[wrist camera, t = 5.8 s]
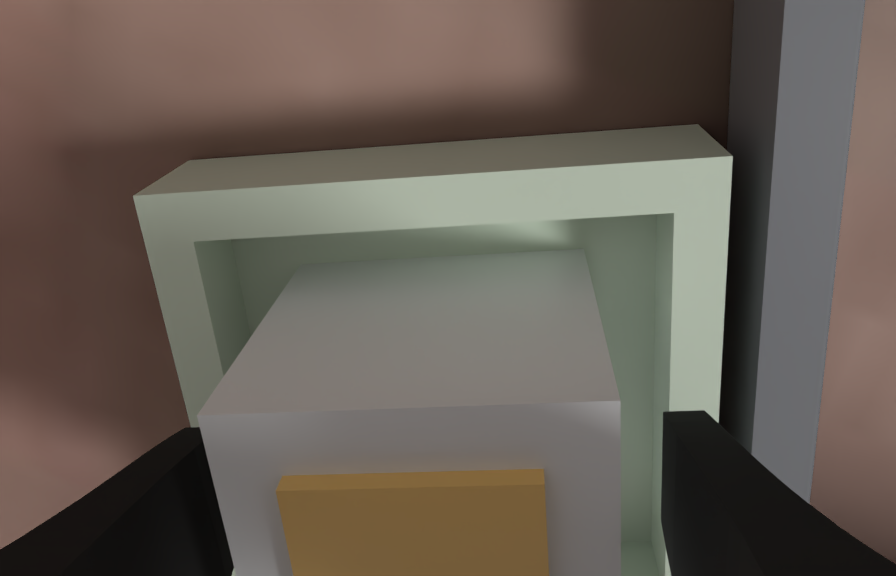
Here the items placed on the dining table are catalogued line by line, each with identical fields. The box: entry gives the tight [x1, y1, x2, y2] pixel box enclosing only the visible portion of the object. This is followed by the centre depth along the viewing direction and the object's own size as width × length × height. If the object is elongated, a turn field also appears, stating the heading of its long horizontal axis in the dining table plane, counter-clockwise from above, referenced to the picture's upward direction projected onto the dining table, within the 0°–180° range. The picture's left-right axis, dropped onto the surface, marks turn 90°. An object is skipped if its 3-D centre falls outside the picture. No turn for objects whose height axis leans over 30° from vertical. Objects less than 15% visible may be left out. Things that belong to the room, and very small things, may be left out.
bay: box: [133, 124, 733, 576], centre depth 14 cm, size 9×9×2 cm
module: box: [197, 249, 621, 576], centre depth 12 cm, size 5×5×5 cm
